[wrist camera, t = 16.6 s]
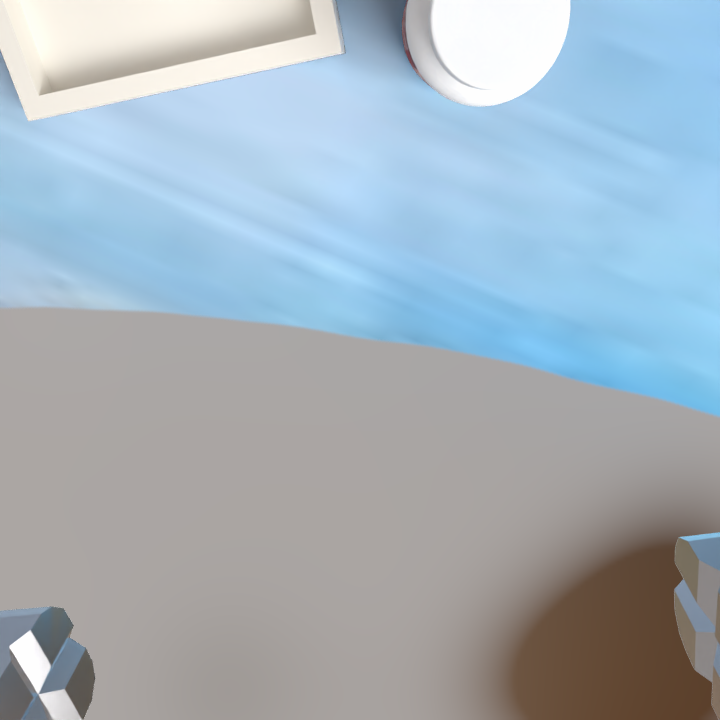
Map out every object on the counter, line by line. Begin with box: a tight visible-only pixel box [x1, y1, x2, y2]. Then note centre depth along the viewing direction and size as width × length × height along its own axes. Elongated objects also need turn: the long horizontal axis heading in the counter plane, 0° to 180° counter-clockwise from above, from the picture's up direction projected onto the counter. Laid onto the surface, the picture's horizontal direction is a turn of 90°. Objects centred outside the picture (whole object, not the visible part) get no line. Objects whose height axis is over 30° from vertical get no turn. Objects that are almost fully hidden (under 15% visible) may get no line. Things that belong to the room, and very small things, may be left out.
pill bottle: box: [402, 0, 570, 106], centre depth 26 cm, size 6×6×11 cm
